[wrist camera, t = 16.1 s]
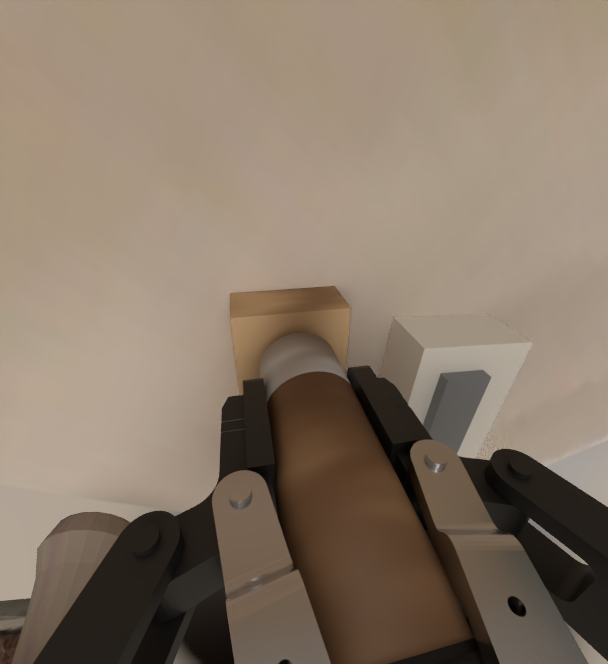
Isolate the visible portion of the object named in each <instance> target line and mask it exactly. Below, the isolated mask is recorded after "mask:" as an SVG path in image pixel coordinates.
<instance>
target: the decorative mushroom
mask: <svg viewBox="0 0 608 664" xmlns="http://www.w3.org/2000/svg"><path fill="white" fill-rule="evenodd" d="M129 524H130V522H128V521H127V520H125V519H123V518H121V517H118V516H115V515H112V514H107V513H100V512H83V513H79V514H74V515H70V516H68V517H67V518H65V519H63V520H61V521H60V523H59V524H58V525H57V526H56V527H55V528H54V529H53V531H52V532H51V533H50V534H49V535H48V536H47V537H46V539H45V540H44V541H43V542H42V543H41V545H40V546H39V547H38V549H37V564H36V579H35V584H34V588H33V592H32V596H31V600H30V604H29V608H28V611H27V614H26V618H25V621H24V624H23V628H22V631H21V634H20V638H19V641H18V644H17V647H16V651H15V654H14V657H13V661H12V664H33V663H34V661H35V660H36V658H37V657H38V655H39V654H40V652H41V651H42V649H43V648H44V646H45V645H46V643H47V642H48V640H49V639H50V637H51V636H52V634H53V633H54V631H55V630H56V628H57V627H58V626H59V624H60V623H61V621H62V620H63V618H64V617H65V615H66V614H67V612H68V611H69V609H70V608H71V606H72V605H73V603H74V602H75V600H76V599H77V597H78V596H79V594H80V593H81V591H82V590H83V588H84V587H85V585H86V584H87V583H88V581H89V580H90V578H91V577H92V575H93V574H94V572H95V571H96V569H97V568H98V566H99V565H100V563H101V562H102V560H103V559H104V557H105V556H106V554H107V553H108V551H109V550H110V548H111V547H112V545H113V544H114V542H115V541H116V540H117V538H118V537H119V535H120V534H121V532H122V531H123V530H124V529H125V528H126V527H127V526H128V525H129Z"/></svg>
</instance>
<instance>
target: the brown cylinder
mask: <svg viewBox="0 0 608 664" xmlns="http://www.w3.org/2000/svg"><path fill="white" fill-rule="evenodd" d="M259 371H260V378H263V380H264V387H265V394H266V401H267V408H268V416H269V423H270V430H271V437H272V445H273V452H274V459H275V470H276V484H275V500H276V508H277V516H278V520H279V523H280V526H281V529H282V533H283V536H284V539H285V542H286V545H287V548H288V551H289V554H290V557H291V559H292V562H293V564H294V565H295V566H296V567H297V568H298V570H299V573H300V575H301V577H302V580H303V583H304V586H305V589H306V592H307V594H308V597H309V600H310V603H311V606H312V609H313V612H314V615H315V618H316V621H317V624H318V627H319V630H320V633H321V636H322V639H323V642H324V645H325V648H326V651H327V654H328V657H329V660H330V663H331V664H389V663H392V662H395V661H399V660H402V659H406V658H409V657H412V656H416V655H419V654H422V653H426V652H429V651H432V650H436V649H439V648H443V647H446V646H449V645H453V644H456V643H459V642H463V641H466V640H469V639H473V638H475V636H474V633H473V631H472V629H471V627H470V625H469V623H468V621H467V619H466V617H467V614H466V612H465V610H464V607H463V606H462V604H461V602H460V601H459V599H458V598H457V597H456V596H455V594H454V592H453V590H452V587H451V585H450V583H449V580H448V578H447V576H446V574H445V572H444V569H443V567H442V565H441V563H440V560H439V558H438V556H437V554H436V552H435V550H434V547H433V545H432V543H431V541H430V539H429V537H428V535H427V533H426V531H425V529H424V528H423V526H422V524H421V522H420V520H419V518H418V516H417V514H416V512H415V510H414V508H413V506H412V504H411V502H410V500H409V498H408V496H407V494H406V492H405V490H404V488H403V486H402V484H401V482H400V480H399V478H398V476H397V474H396V472H395V470H394V468H393V466H392V465H391V463H390V461H389V459H388V457H387V455H386V453H385V451H384V449H383V447H382V445H381V443H380V441H379V439H378V437H377V435H376V433H375V431H374V429H373V427H372V425H371V423H370V421H369V419H368V417H367V415H366V413H365V411H364V409H363V407H362V405H361V404H360V402H359V400H358V398H357V396H356V394H355V392H354V390H353V388H352V386H351V384H350V382H349V380H348V378H347V376H346V374H345V372H344V370H343V368H342V366H341V364H340V362H339V360H338V358H337V356H336V354H335V352H334V350H333V348H332V347H331V345H330V344H329V343H328V342H327V341H326V340H325V339H323V338H322V337H320V336H317V335H314V334H310V333H295V334H290V335H287V336H284V337H282V338H280V339H278V340H277V341H275V342H274V343H273V344H271V345H270V346H269V347H268V348H267V350H266V351H265V353H264V354H263V356H262V358H261V361H260V368H259Z"/></svg>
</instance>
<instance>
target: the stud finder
mask: <svg viewBox="0 0 608 664" xmlns="http://www.w3.org/2000/svg"><path fill="white" fill-rule="evenodd" d="M532 344H533V341H531V340H529V339H528V338H526V337H525V336H523V335H521V334H520V333H518V332H517V331H515V330H513V329H512V328H510V327H509V326H507V325H506V324H504V323H502V322H501V321H499V320H498V319H496V318H494V317H493V316H491V315H490V314H463V315H435V316H407V317H393V322H392V326H391V330H390V335H389V339H388V343H387V348H386V352H385V356H384V361H383V365H382V369H381V374H380V378H383V377H384V378H386V379H387V380H388V381H390V382H391V383H392V384H394V385H395V386H396V387H397V389H398V390H399V392H400V393H401V394H402V396H403V398H404V399H405V400H406V402H407V403H408V406H409V407H411V409H412V410H413V412H414V413H415V415H416V416H417V417H418V419H419V420H420V422H421V423H422V425H423V426H424V427H425V429H426V430H427V432H428V433H429V435H430V436H431V438H432V439H433V440H435V441H438V442H441V443H443V444H445V445H447V446H449V447H450V448H451V449H452V450H454V451H455V452H456V454H457V455H458V456H461V457H466V458H474V459H476V457H477V455H478V453H479V451H480V449H481V447H482V445H483V443H484V441H485V439H486V437H487V435H488V433H489V431H490V429H491V426H492V424H493V422H494V420H495V418H496V416H497V414H498V412H499V410H500V408H501V406H502V404H503V402H504V400H505V398H506V396H507V394H508V392H509V390H510V388H511V386H512V384H513V382H514V380H515V378H516V376H517V374H518V372H519V370H520V368H521V366H522V364H523V362H524V360H525V358H526V356H527V354H528V352H529V350H530V348H531V346H532Z"/></svg>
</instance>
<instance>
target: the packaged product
mask: <svg viewBox="0 0 608 664" xmlns="http://www.w3.org/2000/svg"><path fill="white" fill-rule="evenodd" d="M30 600H31V598H27V599H16V600H5V601H0V664H12V661H13V657H14V654H15V651H16V647H17V644H18V641H19V638H20V634H21V631H22V628H23V624H24V621H25V618H26V614H27V611H28V608H29V604H30Z"/></svg>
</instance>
